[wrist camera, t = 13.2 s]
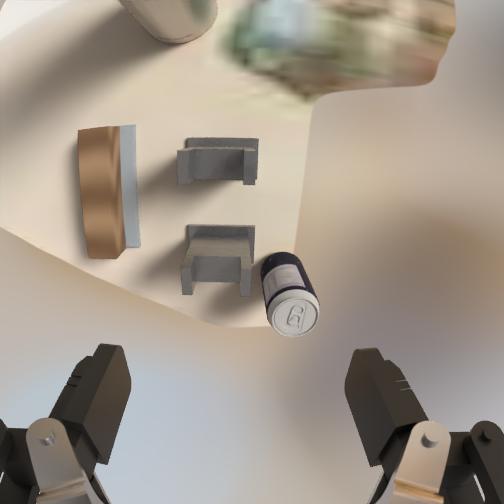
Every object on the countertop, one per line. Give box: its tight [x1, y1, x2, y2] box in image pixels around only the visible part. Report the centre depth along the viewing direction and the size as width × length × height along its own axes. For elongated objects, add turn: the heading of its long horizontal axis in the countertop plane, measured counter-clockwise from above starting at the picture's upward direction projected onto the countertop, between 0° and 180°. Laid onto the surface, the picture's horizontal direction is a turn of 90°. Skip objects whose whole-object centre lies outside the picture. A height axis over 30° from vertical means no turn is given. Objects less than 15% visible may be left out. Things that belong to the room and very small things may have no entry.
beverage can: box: [261, 252, 320, 337], centre depth 36 cm, size 6×6×12 cm
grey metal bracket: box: [177, 138, 259, 185], centre depth 31 cm, size 5×8×11 cm, turn 88°
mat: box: [117, 125, 141, 247], centre depth 36 cm, size 16×8×1 cm, turn 178°
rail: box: [78, 126, 127, 259], centre depth 34 cm, size 16×4×4 cm, turn 178°
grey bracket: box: [181, 224, 255, 296], centre depth 35 cm, size 5×8×11 cm, turn 88°
